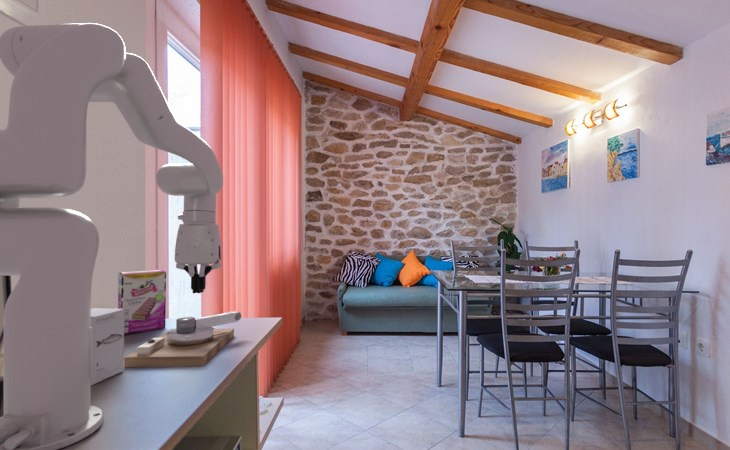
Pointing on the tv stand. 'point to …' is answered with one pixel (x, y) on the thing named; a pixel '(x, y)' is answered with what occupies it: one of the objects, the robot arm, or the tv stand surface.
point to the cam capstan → (198, 328)
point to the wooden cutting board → (177, 352)
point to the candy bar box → (142, 300)
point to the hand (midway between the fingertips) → (198, 292)
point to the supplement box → (106, 343)
